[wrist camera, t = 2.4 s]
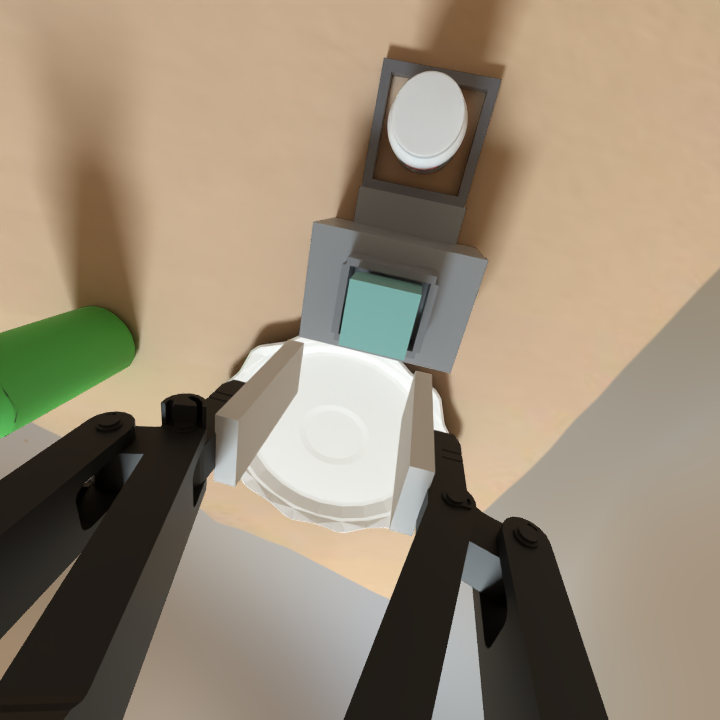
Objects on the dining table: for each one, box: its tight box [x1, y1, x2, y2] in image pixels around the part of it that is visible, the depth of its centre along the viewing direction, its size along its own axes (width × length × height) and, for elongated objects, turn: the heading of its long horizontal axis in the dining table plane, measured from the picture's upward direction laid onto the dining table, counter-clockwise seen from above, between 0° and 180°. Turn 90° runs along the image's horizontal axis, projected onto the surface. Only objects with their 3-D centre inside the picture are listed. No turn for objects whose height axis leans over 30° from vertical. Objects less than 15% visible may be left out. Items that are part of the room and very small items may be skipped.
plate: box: [228, 336, 450, 533], centre depth 46 cm, size 29×29×2 cm
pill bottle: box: [387, 71, 468, 174], centre depth 28 cm, size 6×6×10 cm
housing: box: [299, 58, 502, 373], centre depth 30 cm, size 23×14×10 cm, turn 169°
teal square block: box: [338, 271, 422, 361], centre depth 27 cm, size 5×5×3 cm
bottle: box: [0, 306, 135, 438], centre depth 35 cm, size 9×9×25 cm
